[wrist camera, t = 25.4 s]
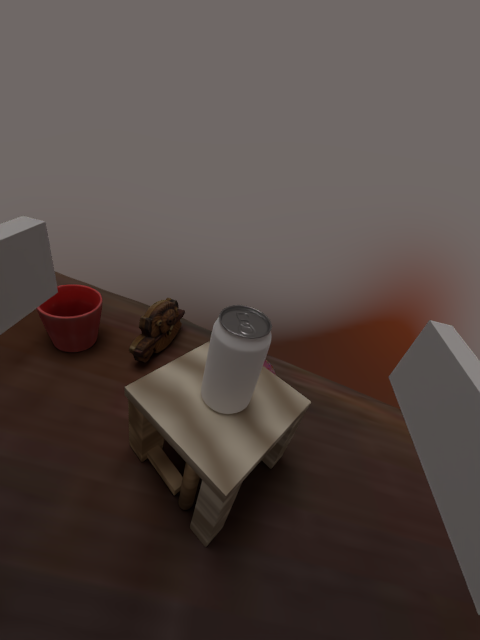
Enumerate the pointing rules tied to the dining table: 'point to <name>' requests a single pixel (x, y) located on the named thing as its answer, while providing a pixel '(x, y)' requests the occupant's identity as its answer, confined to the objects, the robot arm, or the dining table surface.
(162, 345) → the wooden carving
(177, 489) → the gate leg
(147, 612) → the dining table surface
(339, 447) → the dining table surface
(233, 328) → the can
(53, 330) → the flower pot
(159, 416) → the stool
